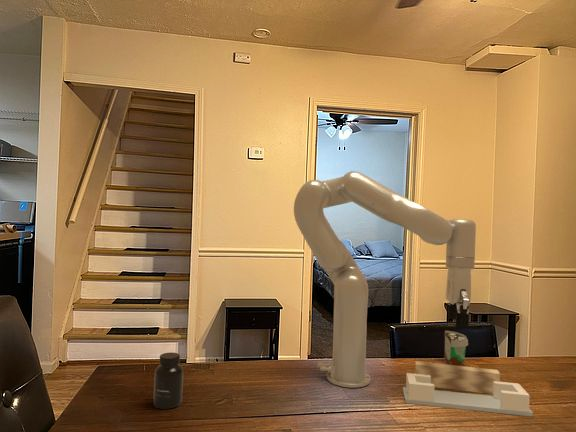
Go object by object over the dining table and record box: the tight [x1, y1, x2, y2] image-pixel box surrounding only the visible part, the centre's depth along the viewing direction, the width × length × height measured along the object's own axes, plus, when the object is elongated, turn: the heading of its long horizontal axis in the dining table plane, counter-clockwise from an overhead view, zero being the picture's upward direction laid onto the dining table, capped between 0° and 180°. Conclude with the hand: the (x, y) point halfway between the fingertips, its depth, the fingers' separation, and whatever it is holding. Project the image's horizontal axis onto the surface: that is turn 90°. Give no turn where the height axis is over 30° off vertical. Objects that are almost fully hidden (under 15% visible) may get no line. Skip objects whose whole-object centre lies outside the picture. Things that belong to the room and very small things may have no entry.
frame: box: [402, 372, 534, 418], centre depth 109 cm, size 30×8×5 cm, turn 79°
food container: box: [444, 330, 469, 366], centre depth 135 cm, size 12×6×10 cm, turn 168°
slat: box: [414, 360, 501, 395], centre depth 118 cm, size 22×3×6 cm, turn 76°
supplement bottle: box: [153, 352, 184, 410], centre depth 103 cm, size 7×7×12 cm
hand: (458, 323), depth 118 cm, fingers open, 9 cm apart
